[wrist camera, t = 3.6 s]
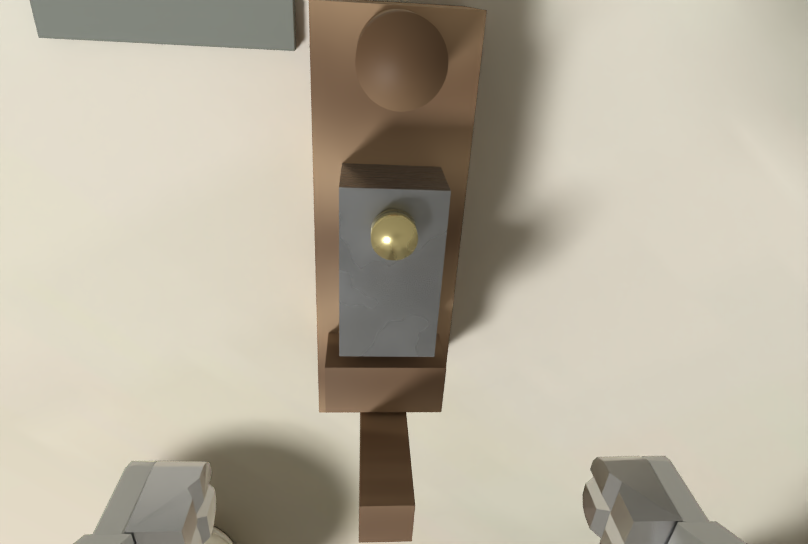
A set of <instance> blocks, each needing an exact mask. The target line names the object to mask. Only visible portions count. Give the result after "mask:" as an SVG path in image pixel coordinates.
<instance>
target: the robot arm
mask: <svg viewBox="0 0 808 544" xmlns="http://www.w3.org/2000/svg"><path fill="white" fill-rule="evenodd" d="M590 470H591V472H592V474H593V476H594V477H593V478H592V479H590V480H589V481H588V482H587V483H586V484H585V488H584V491H583V509H584V513H585V518H586V520H587V523H588V525H589V528H590V529H591V530H592V531H593V532H594V533H595V534H596V535H598V536H599V537H600V538H601V540H600V543H599V544H747V543H746V542H744V541H743V540H741V539H740V538H739V537H737V536H736V535H734V534H733V533H732V532H730V531H729V530H727V529H726V528H725V527H723V526H722V525H720V524H719V523H718V522H713V521H709V520H708V518H707V517H706V515H705V514H704V512H703V511H702V509H701V507H700V506H699V504H698V503H697V501H696V500H695V498H694V497H693V495H692V493H691V492H690V490H689V489H688V487H687V486H686V484H685V482H684V481H683V479H682V478H681V476H680V475H679V473H678V472H677V470H676V468H675V467H674V465H673V464H672V462H671V461H670V460H669V459H668V458H667V457H666V456H642V457H640V456H616V457H597V458H596V459H594V460H593V463H592V465H591V468H590ZM211 476H212V470H211V466H210V462H199V461H131V462H130V463H129V464H128V466H127V467H126V468H125V469H124V471H123V473H122V475H121V477H120V480H119V482H118V484H117V486H116V488H115V490H114V492H113V494H112V496H111V498H110V500H109V502H108V504H107V506H106V508H105V510H104V512H103V514H102V516H101V518H100V520H99V522H98V524H97V526H96V528H95V530H94V532H93V534H87V535H83V536H82V537H81V538H80V539H78V540H77V541H76V542H75V543H73V544H204V543H205V542H206V541H207V540H208V539H209V538H210V537H211V533H212V529H213V525H214V520H215V513H216V494H215V488H213V487H212V486H211V485H210V484H209V483H210V479H211Z"/></svg>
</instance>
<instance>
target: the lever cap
mask: <svg viewBox="0 0 808 544" xmlns="http://www.w3.org/2000/svg"><path fill="white" fill-rule="evenodd" d="M450 196H451V190H450V187H449V185H448V183H447V180H446V178H445V176H444V173H443V171H442V168H441V167H437V166H408V165H380V164H351V163H342V167H341V175H340V183H339V356H372V357H434V355H435V345H436V335H437V325H438V315H439V305H440V295H441V285H442V275H443V265H444V256H445V246H446V236H447V226H448V216H449V206H450Z"/></svg>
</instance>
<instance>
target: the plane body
mask: <svg viewBox="0 0 808 544" xmlns="http://www.w3.org/2000/svg"><path fill="white" fill-rule="evenodd" d="M486 13H487V10H482V9H476V8H471V7H465V6H450V5H433V4H416V3H400V2H383V1H367V0H309V28H310V68H311V107H312V146H313V186H314V225H315V265H316V304H317V344H318V383H319V412H360V481H359V542H401V541H412V533H413V522H414V512H415V499H414V489H413V479H412V469H411V458H410V448H409V438H408V427H407V417H406V412H441V409H442V401H443V392H444V383H445V374H446V362H447V353H448V344H449V336H450V327H451V318H452V309H453V301H454V292H455V283H456V275H457V266H458V257H459V248H460V240H461V231H462V222H463V213H464V205H465V196H466V187H467V178H468V170H469V161H470V152H471V144H472V135H473V126H474V117H475V109H476V100H477V91H478V82H479V74H480V65H481V56H482V48H483V39H484V30H485V21H486ZM342 163H351V164H380V165H408V166H437V167H441V168H442V171H443V173H444V176H445V178H446V180H447V183H448V185H449V187H450V190H451V196H450V206H449V216H448V226H447V236H446V246H445V256H444V265H443V275H442V285H441V295H440V305H439V315H438V325H437V335H436V345H435V355H434V357H372V356H339V183H340V175H341V167H342Z"/></svg>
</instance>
